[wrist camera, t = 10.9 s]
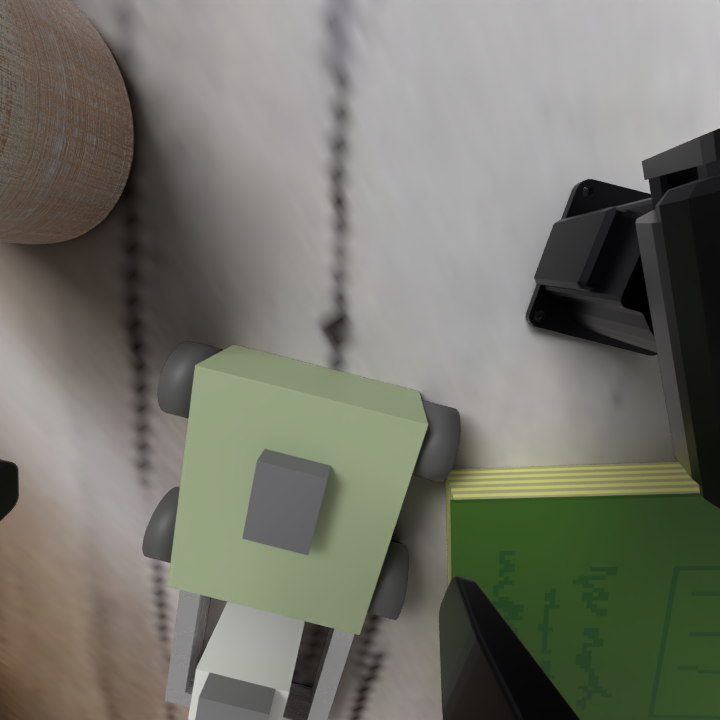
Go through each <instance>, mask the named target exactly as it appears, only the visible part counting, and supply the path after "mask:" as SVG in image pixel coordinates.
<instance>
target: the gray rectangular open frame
mask: <svg viewBox="0 0 720 720" xmlns="http://www.w3.org/2000/svg"><path fill="white" fill-rule="evenodd" d="M210 599H211V597H207V596H204V595H200V594H196V593H192V592H188V591H184V590H180V594H179V602H178V609H177V616H176V624H175V631H174V638H173V645H172V653H171V660H170V667H169V675H168V682H167V689H166V697H165V701H168V702H172V703H176V704H180V705H184V706H188V707H190V705H191V698H192V692H193V686H194V679H195V673H196V668H197V666H198V664H199V662H200V658H201V652H202V647H203V641H204V635H205V629H206V623H207V617H208V611H209V605H210ZM353 638H354V634H353V633H349V632H345V631H341V630H337V629H333V628H330V629H329V633H328V636H327V640H326V643H325V646H324V650H323V653H322V657H321V660H320V663H319V667H318V670H317V674H316V677H315V680H314V684H313V687H312V688H311V687H307V686H304V685H300V684H296V683H292V682H291V686H290V691H289V695H288V699H287V703H286V706H285V710H284V714H283V718H282V720H327V719H328V716H329V712H330V709H331V706H332V703H333V700H334V697H335V694H336V691H337V687H338V684H339V681H340V678H341V675H342V672H343V669H344V666H345V663H346V659H347V656H348V653H349V650H350V647H351V644H352V641H353Z"/></svg>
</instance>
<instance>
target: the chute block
mask: <svg viewBox="0 0 720 720" xmlns="http://www.w3.org/2000/svg"><path fill="white" fill-rule="evenodd" d="M304 623H305V621H302V620H298V619H294V618H290V617H286V616H282V615H278V614H274V613H270V612H267V611H263V610H259V609H255V608H251V607H247V606H243V605H239V604H235V603H231V602H227V604H226V606H225V608H224V610H223V612H222V614H221V616H220V619H219V621H218V623H217V625H216V627H215V629H214V632H213V634H212V636H211V638H210V640H209V642H208V644H207V647H206V649H205V651H204V653H203V655H202V657H201V659H200V662H199V664H198V666H197V668H196V673H195V679H194V686H193V692H192V698H191V705H190V711H189V718H188V720H282V718H283V714H284V710H285V706H286V703H287V699H288V695H289V691H290V686H291V682H292V677H293V673H294V668H295V664H296V659H297V655H298V650H299V646H300V641H301V637H302V632H303V628H304Z"/></svg>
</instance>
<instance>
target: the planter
mask: <svg viewBox="0 0 720 720" xmlns="http://www.w3.org/2000/svg"><path fill="white" fill-rule="evenodd" d="M133 154H134V122H133V114H132V108H131V104H130V99H129V95H128V92H127V88H126V85H125V82H124V79H123V77H122V74H121V71H120V69H119V67H118V65H117V62H116V61H115V59H114V57H113V55H112V53H111V51H110V49H109V48H108V46H107V44H106V43H105V41H104V40H103V38H102V37H101V35H100V34H99V32H98V31H97V30H96V28H95V27H94V26H93V25H92V23H91V22H90V21H89V20H88V19H87V18H86V17H85V16H84V14H83V13H82V12H81V11H80V10H79V9H78V8H77V7H76V6H75V5H74V4H73V2H71V1H70V0H0V242H3V243H19V244H49V243H57V242H63V241H68V240H71V239H74V238H77V237H79V236H81V235H83V234H85V233H87V232H89V231H90V230H92V229H93V228H95V227H96V226H97V225H99V224H100V223H101V222H102V221H103V220H104V219H105V218H106V217H107V216H108V215H109V214H110V212H111V211H112V210H113V209H114V207H115V206H116V204H117V203H118V201H119V199H120V198H121V196H122V194H123V191H124V189H125V187H126V184H127V181H128V178H129V175H130V171H131V167H132V161H133Z"/></svg>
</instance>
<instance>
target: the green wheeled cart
mask: <svg viewBox="0 0 720 720" xmlns="http://www.w3.org/2000/svg"><path fill="white" fill-rule="evenodd" d="M157 395H158V403H159V406H160V408H161V410H162V411H164V412H166V413H169V414H173V415H177V416H181V417H185V418H189V419H188V427H187V435H186V443H185V451H184V459H183V467H182V475H181V483H180V487H175V488H173V489H171V490H170V491H169V492H168V493H167V494H166V495H165V496H164V497H163V499H162V500H161V501H160V503H159V504H158V506H157V508H156V509H155V511H154V513H153V515H152V517H151V519H150V522H149V524H148V527H147V529H146V532H145V536H144V540H143V554H144V556H146V557H149V558H153V559H157V560H161V561H165V562H169V563H170V571H169V579H168V587H172V588H176V589H180V590H184V591H188V592H192V593H196V594H200V595H204V596H207V597H211V598H215V599H219V600H223V601H227V602H231V603H235V604H239V605H243V606H247V607H251V608H255V609H259V610H263V611H267V612H270V613H274V614H278V615H282V616H286V617H290V618H294V619H298V620H302V621H306V622H310V623H314V624H318V625H322V626H326V627H330V628H333V629H337V630H341V631H345V632H349V633H353V634H357V635H360V632H361V629H362V626H363V623H364V620H365V617H366V614H367V613H370V614H374V615H378V616H381V617H385V618H389V619H393V620H396V619H397V618H398V616H399V614H400V612H401V609H402V606H403V602H404V598H405V593H406V587H407V580H408V568H409V556H408V549H407V546H406V545H404V544H400V543H396V542H392V541H390V540H391V537H392V534H393V531H394V528H395V525H396V522H397V519H398V516H399V513H400V510H401V507H402V504H403V501H404V498H405V495H406V491H407V488H408V485H409V482H410V479H411V476H412V475H413V476H417V477H421V478H425V479H429V480H433V481H436V482H443V481H445V480H446V479H447V477H448V476H449V474H450V472H451V470H452V467H453V465H454V462H455V458H456V455H457V451H458V446H459V439H460V416H459V412H458V411H457V409H455V408H451V407H447V406H443V405H439V404H435V403H431V402H427V401H422V400H421V396H420V393H419V391H415V390H411V389H407V388H403V387H399V386H395V385H392V384H388V383H384V382H380V381H376V380H372V379H368V378H364V377H360V376H356V375H352V374H348V373H344V372H340V371H337V370H333V369H329V368H325V367H321V366H317V365H313V364H309V363H305V362H301V361H297V360H293V359H289V358H286V357H282V356H278V355H274V354H270V353H266V352H262V351H258V350H254V349H250V348H246V347H242V346H238V345H232V346H230V347H228V348H226V349H224V350H223V349H219V348H215V347H211V346H207V345H203V344H199V343H195V342H192V341H185V342H183V343H181V344H179V345H178V346H177V347H176V348H175V349H174V350H173V352H172V353H171V354H170V356H169V357H168V359H167V361H166V363H165V365H164V367H163V370H162V372H161V376H160V379H159V384H158V393H157Z"/></svg>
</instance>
